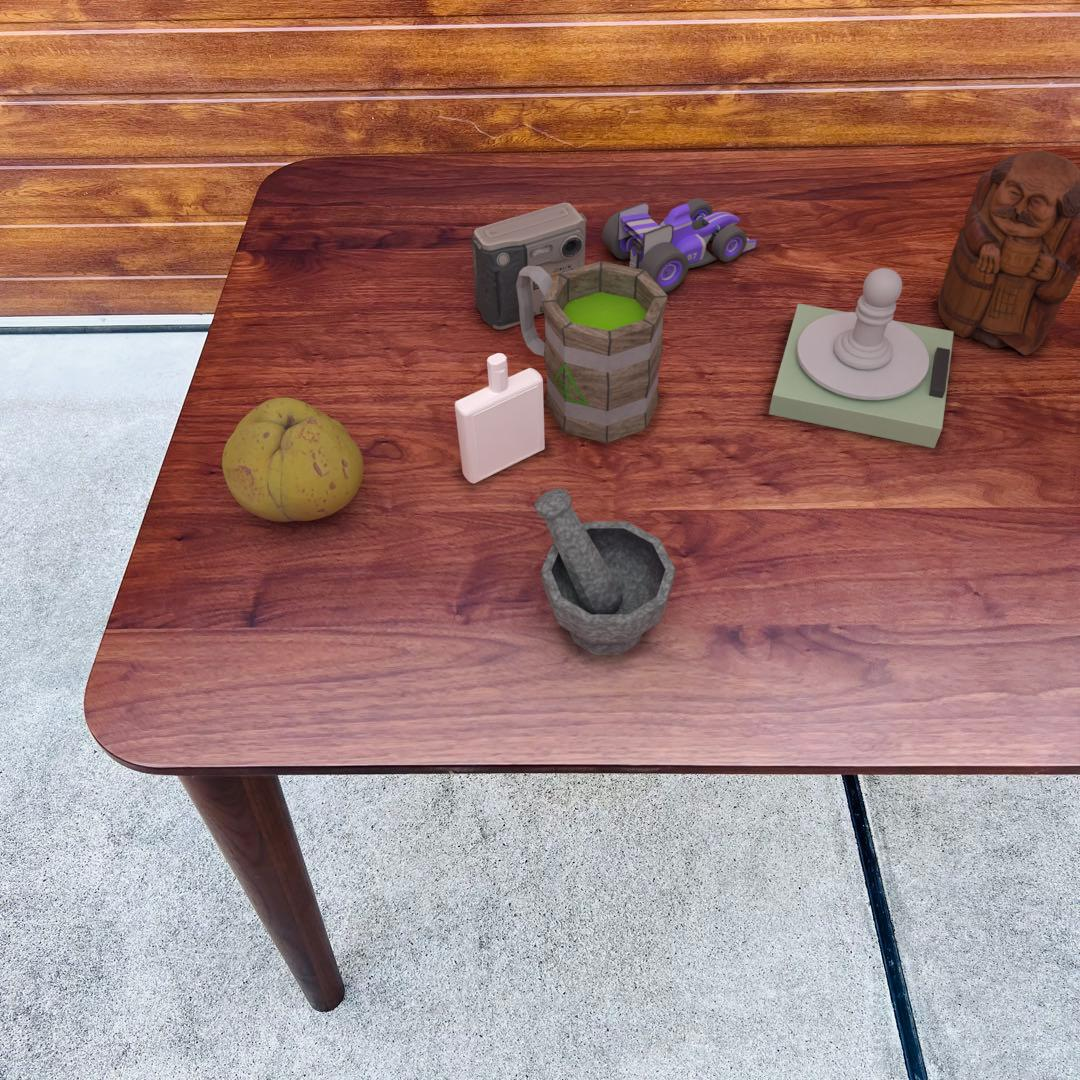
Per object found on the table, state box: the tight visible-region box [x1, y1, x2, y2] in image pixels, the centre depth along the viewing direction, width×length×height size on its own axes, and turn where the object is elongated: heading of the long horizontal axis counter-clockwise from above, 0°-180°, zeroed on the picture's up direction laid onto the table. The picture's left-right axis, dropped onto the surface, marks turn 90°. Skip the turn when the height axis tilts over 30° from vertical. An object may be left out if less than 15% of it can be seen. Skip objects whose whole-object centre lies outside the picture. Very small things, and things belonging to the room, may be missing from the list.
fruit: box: [221, 396, 365, 523], centre depth 84 cm, size 11×12×10 cm
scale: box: [768, 303, 955, 449], centre depth 95 cm, size 15×14×4 cm
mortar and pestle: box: [533, 488, 676, 656], centre depth 75 cm, size 11×9×12 cm
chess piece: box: [834, 267, 903, 370], centre depth 90 cm, size 5×5×9 cm
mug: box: [516, 260, 669, 444], centre depth 92 cm, size 16×11×12 cm
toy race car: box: [601, 197, 758, 295], centre depth 107 cm, size 10×15×6 cm, turn 120°
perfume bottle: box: [454, 352, 546, 485], centre depth 86 cm, size 8×2×12 cm, turn 123°
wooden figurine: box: [937, 150, 1080, 356], centre depth 94 cm, size 12×6×18 cm, turn 54°
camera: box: [470, 202, 588, 331], centre depth 101 cm, size 11×6×10 cm, turn 114°
